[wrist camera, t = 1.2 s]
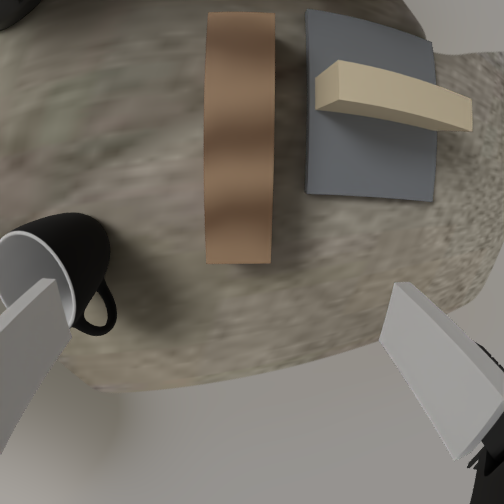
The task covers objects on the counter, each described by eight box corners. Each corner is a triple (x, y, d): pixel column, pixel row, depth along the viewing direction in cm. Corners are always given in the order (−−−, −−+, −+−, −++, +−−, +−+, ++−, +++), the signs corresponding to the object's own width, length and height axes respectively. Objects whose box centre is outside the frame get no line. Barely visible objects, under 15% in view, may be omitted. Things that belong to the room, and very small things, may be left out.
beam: (212, 34, 21) (208, 12, 16) (267, 35, 21) (274, 13, 16) (211, 243, 27) (206, 263, 23) (264, 243, 28) (270, 263, 23)
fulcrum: (305, 12, 20) (325, -22, 13) (426, 44, 21) (466, 29, 14) (304, 192, 26) (328, 207, 19) (427, 200, 27) (469, 215, 20)
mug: (38, 236, 25) (-20, 272, 16) (85, 183, 24) (21, 204, 15) (104, 318, 29) (67, 377, 20) (158, 277, 28) (128, 338, 18)
